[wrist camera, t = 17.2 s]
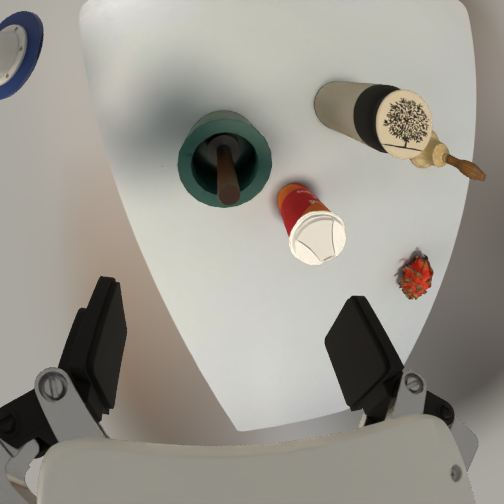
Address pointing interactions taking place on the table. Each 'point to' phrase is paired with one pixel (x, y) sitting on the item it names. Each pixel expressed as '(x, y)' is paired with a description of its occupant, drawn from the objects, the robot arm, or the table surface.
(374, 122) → the travel mug
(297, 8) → the table surface
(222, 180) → the peg on round base
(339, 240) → the paper cup
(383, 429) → the robot arm
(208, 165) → the jar
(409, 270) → the dragon fruit
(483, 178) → the hand bell
